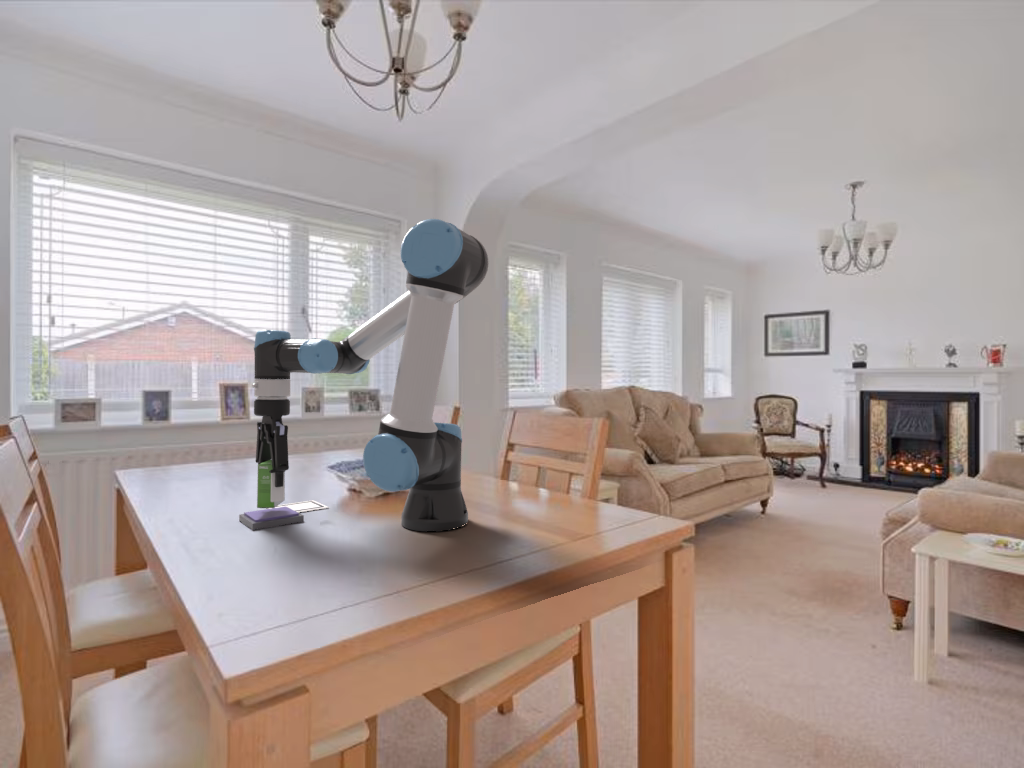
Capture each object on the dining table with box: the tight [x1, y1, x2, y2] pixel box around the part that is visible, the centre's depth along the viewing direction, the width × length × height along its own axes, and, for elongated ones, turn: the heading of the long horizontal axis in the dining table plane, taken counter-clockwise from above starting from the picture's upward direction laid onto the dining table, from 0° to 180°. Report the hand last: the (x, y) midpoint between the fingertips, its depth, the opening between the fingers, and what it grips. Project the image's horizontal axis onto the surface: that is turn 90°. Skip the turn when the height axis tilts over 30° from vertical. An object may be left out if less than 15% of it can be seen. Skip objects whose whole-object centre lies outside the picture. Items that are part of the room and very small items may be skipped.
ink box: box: [256, 460, 286, 509], centre depth 124 cm, size 7×4×13 cm, turn 5°
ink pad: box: [238, 507, 305, 531], centre depth 125 cm, size 10×11×2 cm
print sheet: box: [266, 499, 330, 514], centre depth 137 cm, size 10×12×1 cm
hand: (271, 497), depth 125 cm, fingers closed on ink box, 8 cm apart
